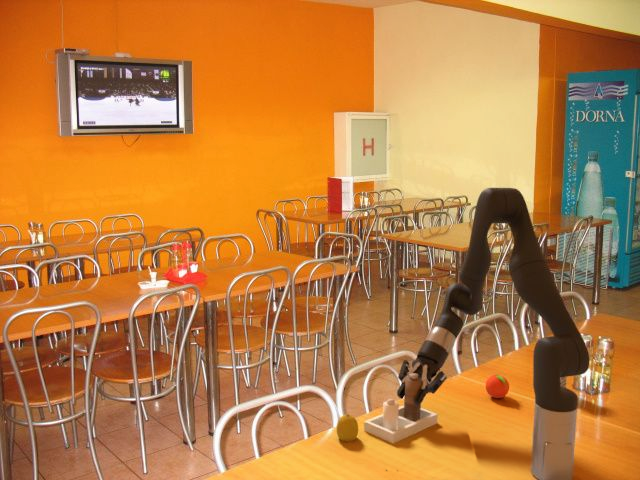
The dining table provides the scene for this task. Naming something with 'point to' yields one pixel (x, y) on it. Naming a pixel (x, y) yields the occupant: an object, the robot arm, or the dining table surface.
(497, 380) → the clementine
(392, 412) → the salt shaker
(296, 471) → the dining table surface
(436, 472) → the dining table surface
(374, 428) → the caddy
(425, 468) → the dining table surface
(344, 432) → the lemon
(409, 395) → the pepper mill
